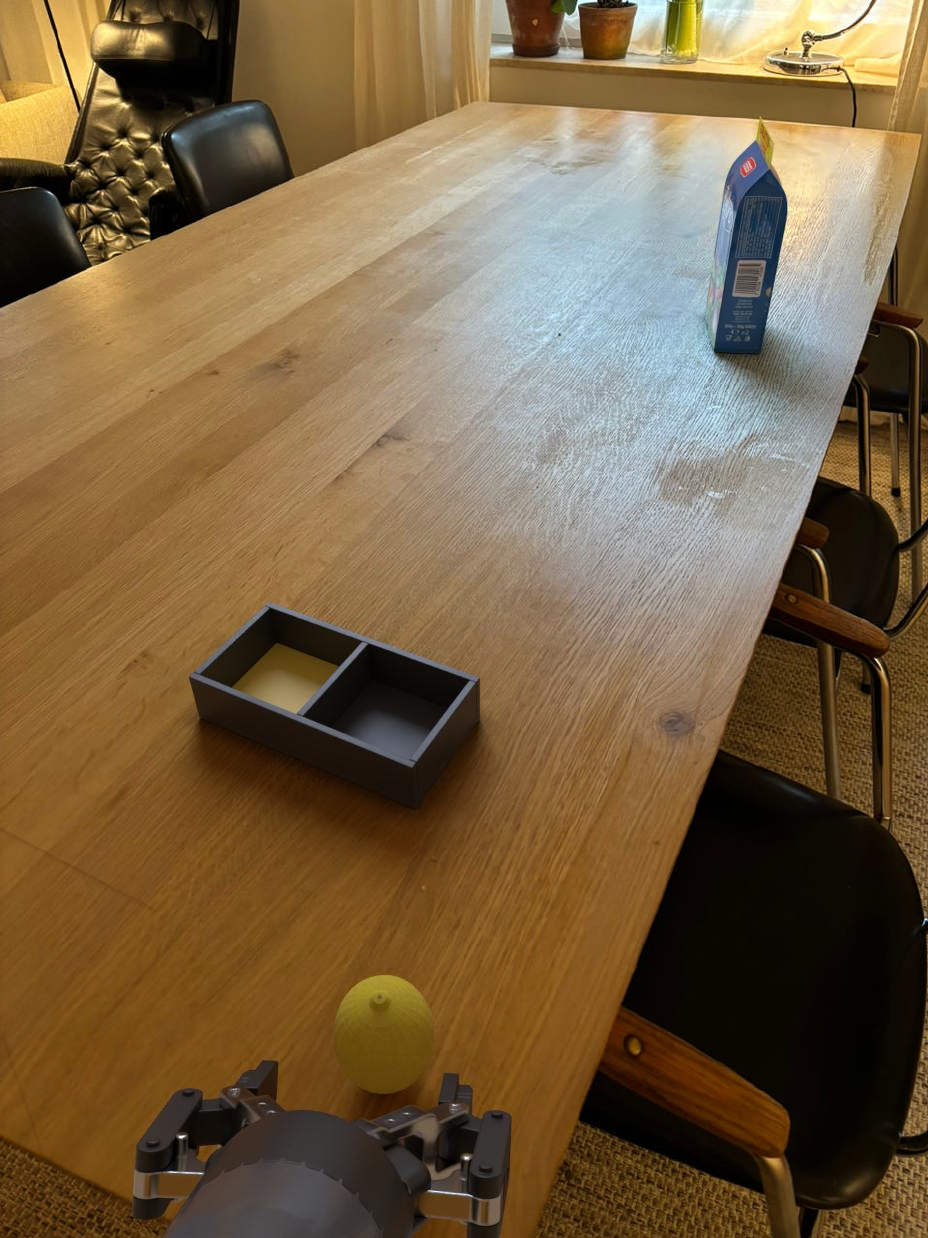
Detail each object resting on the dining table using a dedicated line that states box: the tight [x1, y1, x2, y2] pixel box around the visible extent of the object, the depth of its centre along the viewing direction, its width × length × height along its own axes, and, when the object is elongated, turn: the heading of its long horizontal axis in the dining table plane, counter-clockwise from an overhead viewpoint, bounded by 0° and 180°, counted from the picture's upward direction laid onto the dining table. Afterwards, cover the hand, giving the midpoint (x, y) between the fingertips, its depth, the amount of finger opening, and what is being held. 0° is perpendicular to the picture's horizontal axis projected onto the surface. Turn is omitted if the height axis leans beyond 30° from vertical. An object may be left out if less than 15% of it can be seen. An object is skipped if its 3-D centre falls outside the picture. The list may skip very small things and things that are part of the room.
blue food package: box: [704, 116, 789, 354], centre depth 123 cm, size 6×12×25 cm, turn 175°
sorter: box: [188, 601, 481, 810], centre depth 77 cm, size 10×20×4 cm, turn 62°
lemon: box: [333, 974, 436, 1095], centre depth 54 cm, size 6×6×8 cm
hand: (359, 1088), depth 46 cm, fingers open, 8 cm apart
